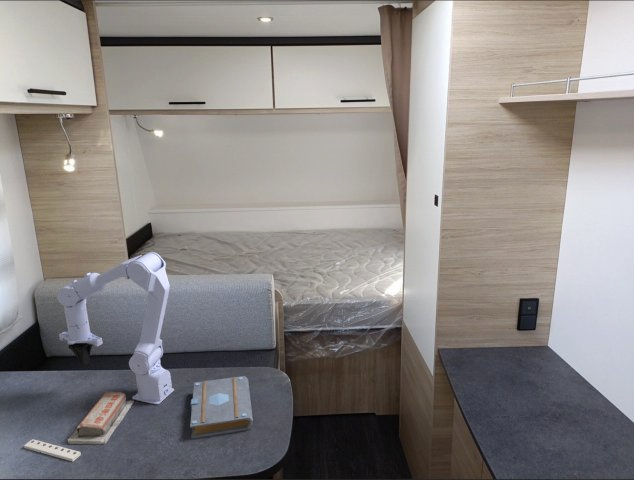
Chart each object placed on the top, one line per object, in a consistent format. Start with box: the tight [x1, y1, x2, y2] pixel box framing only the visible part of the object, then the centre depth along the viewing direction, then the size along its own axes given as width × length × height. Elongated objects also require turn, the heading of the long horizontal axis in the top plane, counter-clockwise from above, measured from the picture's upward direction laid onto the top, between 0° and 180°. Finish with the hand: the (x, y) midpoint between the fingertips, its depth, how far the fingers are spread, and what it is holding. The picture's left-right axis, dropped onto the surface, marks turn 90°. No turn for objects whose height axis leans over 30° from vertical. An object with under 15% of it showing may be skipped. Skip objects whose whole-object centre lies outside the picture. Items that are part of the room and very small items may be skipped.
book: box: [189, 375, 254, 439], centre depth 131 cm, size 21×16×5 cm
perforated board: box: [23, 439, 82, 462], centre depth 116 cm, size 16×2×1 cm, turn 71°
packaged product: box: [67, 391, 135, 445], centre depth 126 cm, size 18×5×10 cm
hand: (84, 363), depth 140 cm, fingers closed
